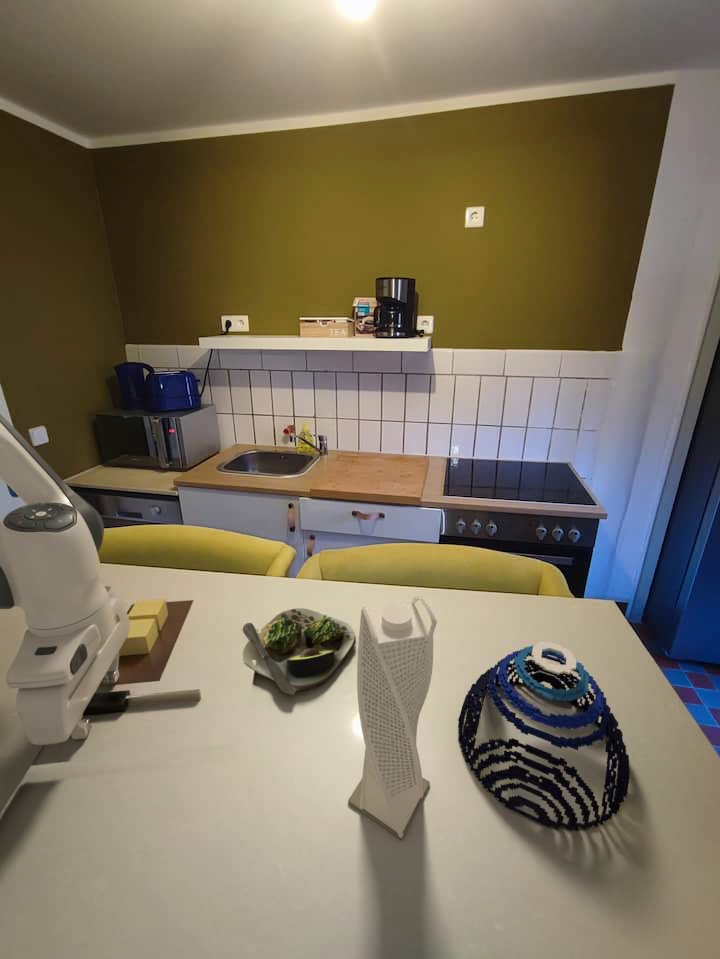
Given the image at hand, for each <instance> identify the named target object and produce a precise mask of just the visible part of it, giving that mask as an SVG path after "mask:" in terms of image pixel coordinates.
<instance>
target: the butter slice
mask: <svg viewBox="0 0 720 959" xmlns="http://www.w3.org/2000/svg"><path fill="white" fill-rule="evenodd" d="M166 602H167V601H166V598H157V599H143V600H136V601H135V603H134V604H135V605H134V606H133V608H132V609H131V611H130V613H129V614H128V617H129V620H141V619H154V618H155V621H156V626H157V630H158V631H161V629H162V627H163V624H164V622H165V620H166V618H167V616H168V610H167V605H166Z"/></svg>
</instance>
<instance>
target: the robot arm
mask: <svg viewBox="0 0 720 959" xmlns="http://www.w3.org/2000/svg"><path fill="white" fill-rule="evenodd" d="M54 470H55V469H53V468H52V467H51V466H50V465H49V464H48V463H47V462H46V461H45V460H44V458H43V457H42V456H41V455H40V454H39V453H38V452H37V451H36V450H35V448H34V447H33V446H32V445H31V444H30V443H29V442H28V441H27V440H26V439H25V437H24V436H22V435H21V433H20V432H19V431H18V430H17V429H16V428H15V427H14V426H13V425H12V424H11V423H10V422H9V421H8V420H7V419H6V418H5V417H4V416H3V415H2V414H1V413H0V478H1V480H2V481H3V482H4V483H5V484H6V485H7V486H8V487H9V488H10V489H11V490H12V491H13V492H14V493H15V494H16V495H17V496H18V497H19V498H20V500H22V502H24V503H25V504H26V505H23V506H21V507H20V506H19V507H17V508H15V509H13V510H11V511H10V512H8V513H7V514H5V515H4V516H3V517H2V519H1V520H0V610H11V609H12V608H20V609H21V610H22V611H23V612H24V618H25V623H26V624H25V625H26V627H27V629H26V631H25V632H24V634H23V637H22V641H21V644H20V646H19V649H18V651H17V653H16V655H15V657H14V659H13V661H12V662H11V664H10V666H9V668H8V670H7V672H6V673H5V674H6V675H5V682H6V684H7V686H8V687H9V689H17V692H16V698H15V705H16V706H15V707H16V711H17V714H18V717H19V721H20V724H21V726H22V729H23V732H24V734H25V736H26V739H27V740H28V741H29V743H30V744H32V745H35V746H45V745H52V744H53V745H54V744H55V745H56V744H59V743H60V744H61V743H64V742H66V741H68V740H69V739H70V736H71V738H72V739H73V740H84V739H86V738H88V735H89V733H90V731H91V729H92V727H93V726H92V724H91V720H90V718H84V719H83V717H84V716H83V712H84V710H85V709H86V707H87V705H88V704H89V702H90V700H91V698H92V697H93V695H94V693H97V692H96V691H97V690H98V688H99V687H100V686H99V685H100V683H101V681H102V680H103V684H104V685H108V686H115V685H114V684H115V683H116V681H117V679H118V678H119V671H118V662H119V650H120V649H121V647H122V645H123V643H124V642H125V640H126V638H127V637H128V635H129V633H130V621H129V617H128V614H127V612H128V611H127V609H126V607H125V604H124V602H123V600H122V599H121V598H120V597H117V595H116V591H115V588H114V587H112V586H107V585H104V584H103V582H102V578H101V570H102V567H101V566H102V565H101V562H100V557H99V552H100V550H101V549H102V548H101V547H102V545H103V541H104V536H105V524H104V521H103V518H102V516H101V514H100V513H99V512H98V511H97V509H96V508H95V507H94V506H92V504H91V503H89V502H88V501H87V500H86V499H84V498H83V497H81V495H79V494H78V493H77V492H76V491H74V490H73V489H72V488H71V487H70V486H69V485H68V484H67V483H66V482H65V481H64V480H63V479H62V478H61V477H60V475H58V474H57V473H56V472H55V471H54Z"/></svg>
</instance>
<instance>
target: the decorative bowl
mask: <svg viewBox="0 0 720 959" xmlns="http://www.w3.org/2000/svg"><path fill="white" fill-rule="evenodd" d="M528 657H531V658H533V659H527V658H528ZM549 661H552V662H556V663H559V664H554V663H551V662H549ZM511 662H512V663H511ZM509 668H510V669H509ZM572 672H574V673H577V675H578V676H575V675H574V674H573V673H572ZM510 676H511V678H510ZM578 677H580V678H578ZM514 678H515V679H514ZM520 680H521V681H522V682H521V681H520ZM543 682H544V683H546V684H549V685H550V686H551V688H550V687H547V686H545V684H543ZM589 685H590V689H591V690H592V691H591V690H590V689H589ZM514 686H525V687H528V688H530V690H532V691H534V692H535V694H538V695H541V696H542V698H545V699H547V700H551V701H553V700H556V701H557V702H558V701H559V702H561V701H563V702H567V701H568V703H570V705H573V706H575V707H576V708H578V709H581V710H582V712H581V711H579V712H577V713H576V714H575V713H574V714H572V715H568V714H565V713H563V714H560V713H558V715H557V714H555V713H552V712H550V713H549V715H547V714H544V713H543V711H541V709H540V708H538V707H535V706H534V704H532V703H529V702H527V700H526V699H524V698H521V697H520V694H519V693H518V691H516V690H514ZM498 688H500V690H501V691H502V693H504V695H503V696H504V697H505V698H506V700H508V701H510V702H509V705H512V706H514V708H515V709H518V711H519V712H521V713H523V715H524V716H526V717H530V720H532V721H535V722H537V723H539V724H543V725H546V726H548V727H551V728H554V729H557V728H559V729H561V730H562V729H563V728H564V729H567V730H569V731H571V729H572V730H575V731H576V730H579V729H581V728H582V727H583V728H584V729H585V728H586V729H587V728H588V726H590V725H593V724H595V725H596V726H597V728H598V729H595V730H593V731H592V733H590V734H587V735H584V736H581V737H580V736H578V735H577V736H574V737H573V738H572V737H570V736H568V738H567V737H564V736H562V735H560V737H559V736H557V735H554V734H551V733H549V732H546V731H544V730H541V729H538V728H535V727H533V726H530V725H528V724H525V722H524V721H523V719H522V718H519V717H517V713H516V712H513V711H511V710H510V708H508V705H506V703H505V702H504V701H503V697H502V696H501V695H499V692H500V691H499V690H498ZM488 690H489V692H488ZM487 692H488V695H490V696H489V697H490V699H491V701H492V704H493V705H494V708H496V710H497V711H498V713H500V716H502V717H504V719H506V721H507V722H509V723H510V724H513V726H514V727H515V729H516V730H518V731H519V732H520V733H521V734H523V735H526V736H529V735H531V736H534V737H536V738H538V739H541V740H544V741H546V742H549V743H550V745H552V746H555V747H557V748H559V749H562V748H565V749H568V748H570V749H573V750H576V751H579V748H582V747H585V746H587V747H590V746H593V743H596V742H597V743H598V742H599V741H600V742H604V740H605V739H604V735H605V736H606V737H607V738H608V739H607V740H605V747H604V751H605V753H607V757H606V769H605V778H604V784H603V792H602V798H601V807H603V809H602V811H601V814H599V813H600V804H598V800H596V795H594V791H592V788H590V786H589V785H588V784H587V783H586V782H585V780H584V779H583V777H581V776H580V774H579V773H578V769H576V767H575V766H574V765H571V766H568V761H566V759H565V758H563V757H561V756H560V757H559V758H558V757H555V756H553V754H552V753H550V752H548V751H545V750H543V749H541V748H538V747H535V746H532V745H531V744H528V743H526V744H524V743H520V740H518V739H515V738H513V737H511V738H508V741H507V740H504V739H502V738H501V737H499V738H496V739H494V738H491V739H490V738H489V739H488V741H485V742H484V741H483V742H481V743H480V744H478V746H475V745H476V741H477V737H476V736H477V735H478V730H479V725H480V720H481V716H482V711H483V706H484V702H485V699H486V694H487ZM482 702H483V703H482ZM583 702H584V703H583ZM590 702H591V703H590ZM600 718H601V719H600ZM599 719H600V721H599ZM457 721H458V724H457V728H458V732H457V733H458V738H457V741H458V742H459V744H460V749H461V751H460V752H461V753H462V755H463V756H464V759H465V763H467V764H469V765H468V767H470V769H469V771H471V772H473V773H474V774H473V775H475V778H477V781H478V782H480V783H481V785H482V788H484V789H486V792H487V793H490V794H491V795H493V798H496V799H497V802H499V803H500V804H503V805H504V808H507V809H508V810H511V811H513V812H514V813H517V814H519V815H521V816H522V817H523V816H524V817H526V818H527V819H530V820H532V821H534V822H536V823H538V824H541V825H542V826H545V827H547V828H548V829H551V828H554V829H556V830H559V829H562V828H564V829H567V830H569V831H570V832H573V830H575V831H577V832H579V828H580V829H583V830H585V831H587V829H588V830H589V829H591V828H593V827H594V828H598V827H599V825H601V826H604V822H607V821H610V820H612V817H613V815H615V816H617V815H618V814H617V813H618V812H620V809H621V804H622V803H625V798H627V796H628V790H629V784H630V774H631V772H630V771H631V769H630V757H629V755H628V754H627V746H626V745H625V742H624V740H623V731H622V729H620V728H618V727H619V721H618V720H617V719H616V717H615V715H614V713H613V712H611V707H610V706H609V704H607V697H606V696H605V692H604V691H602V690H601V688H600V686H599V684H597V681H596V680H595V679H594V676H592V675H591V674H590V673H589V672H588V671H587V670H586V669H585V665H583V664H582V663H581V662H578V659H577V658H575V655H574V654H573V651H571V650H570V649H569V648H566V647H564V646H563V645H560V644H558V643H554V642H551V641H548V642H546V641H544V640H543V641H542V640H541V641H538V642H535V645H529V646H524V647H523V648H522V649H519V650H514V651H512V653H509V654H507V655H505V657H503V658H501V659H500V660H498V661H497V663H496V664H495V663H494V666H493V667H492V666H491V667H490V668H489V669H487V670H486V671H485V672H484V673H481V674H480V676H479V677H478V678H477V679H476V681H475V683H472V684H471V687H470V689H469V690H468V692H467V694H466V695H465V697H464V700H463V703H462V706H461V710H460V714H459V716H458V719H457ZM496 743H497V744H496ZM503 747H504V750H503V754H498V753H490V752H492V751H493V752H494V751H498V750H500V749H501V748H503ZM513 747H514V748H517V749H518V748H521V749H524V752H525V753H528V754H531V755H533V756H535V757H538V758H540V759H543V760H545V761H547V763H548V764H551V765H552V767H550V766H548V765H545V764H543V763H540V762H538V761H535V760H532V759H531V758H528V757H526V756H523V753H521V752H519V751H517V750H514V751H513ZM487 753H488V756H487V758H485V759H483V758H481V759H480V756H484V755H487ZM514 757H515V758H514ZM479 760H480V761H479ZM510 762H512V763H515V764H511V765H509V766H508V768H506V767H505V768H503V769H500V770H499V769H498V770H495V771H494V769H493V770H492V769H490V767H492V766H493V765H495V764H496V765H500V763H502V764H505V763H506V764H507V763H510ZM519 762H521V763H522V765H523V766H526V767H528V768H531V769H532V770H536V771H538V772H541V773H543V774H544V775H547V776H550V775H552V776H553V779H550V778H548V777H546V776H543V775H539V776H538V775H535V774H533V773H531V772H530V770H529V769H527V768H524V767H521V765H520V766H519V765H517V764H518V763H519ZM476 764H477V766H476V767H474V765H476ZM559 766H561V767H563V771H561V769H560V768H559ZM487 769H490V771H489V773H487V774H486V773H485V774H484V775H483V776H482V772H484V771H485V770H487ZM564 772H565V774H566V775H568V776H570V778H571V779H575V782H576V783H577V787H576V786H573V785H572V786H571V787H570V785H571V781H570V780H568V779H566V777H565V776H564ZM507 780H510V781H513V780H514V781H515V780H518V781H520V782H519V783H518V782H516V783H515V782H508V783H503V784H500V786H496V785H497V782H499V783H500V782H502V781H507ZM554 781H555V782H554ZM528 784H530V785H533V786H535V787H537V788H534V787H531V786H529V785H528ZM559 784H560V786H561V787H563V788H565V791H567V793H568V794H570V797H573V798H574V803H575V804H576V805H577V806H579V810H581V811H580V816H582V822H583V823H581V822H578V820H579V818H578V817H576V816H577V813H576V812H575V808H573V807H572V805H571V804H570V802H568V800H567V799H566V797H565V796H563V794H564V790H563V789H561V787H560V786H559ZM494 786H495V787H494ZM578 787H579V788H581V789H582V791H584V796H586V798H587V799H588V801H589V802H590V807H591V808H592V812H593V818H595V819H592V820H590V816H591V810H590V809H589V805H587V803H586V802H585V798H584V797H583V796H582V794H580V792H578ZM493 788H494V789H493ZM519 789H520V790H522V791H525V792H527V793H530V794H532V795H534V796H536V797H538V798H540V799H541V801H543V802H546V805H548V807H549V808H551V809H553V813H554V817H555V818H556V820H553V819H551V818H550V816H549V815H548V814H549V812H548V811H546V808H544V807H542V806H541V804H539V803H536V802H534V801H532V800H530V799H528V798H525V797H523V796H521V795H519V794H517V795H511V796H508V800H507V798H506V797H503V792H504V793H505V792H508V790H511V791H514V790H519ZM544 792H545V793H547V794H550V797H552V799H551V798H549V797H548V796H547V795H545V794H544ZM553 800H555V801H557V803H558V804H560V807H562V809H563V810H564V813H563V812H562V811H561V809H560V808H558V805H556V803H555V802H554V801H553ZM521 807H523V808H524V807H527V808H528V809H531V810H532V811H533V812H534V813H535V815H536V816H537V817H536V816H534V815H532V814H530V813H528V812H526V811H523V810H522V809H519V808H521ZM563 814H564V815H563ZM565 816H566V819H568V821H567V822H566V823H565V822H564V820H565Z"/></svg>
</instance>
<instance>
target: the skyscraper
mask: <svg viewBox="0 0 720 959" xmlns="http://www.w3.org/2000/svg"><path fill="white" fill-rule="evenodd" d="M418 601H420V603H421V604H422V605H423V606H424V608H425V610H426V613H427V614H428V616H429V618H430V621H431V624H430V627H429V629H428V627H427V626H426V623H425V622H424V620H423V618H422V616H421V614H420V612H419V610H418V609H417V608H418V607H416V603H417V602H418ZM360 613H361V614H360V622H359V623H360V624H359V632H358V633H359V634H358V646H357V663H356V669H357V670H356V689H357V704H358V705H357V706H358V714H359V720H360V721H359V722H360V726H361V730H362V731H361V732H362V736H363V741H364V746H365V749H364V757H363V766H362V767H363V768H362V776H361V779H360V781H359V783H358V784H357V786H356V787H355V789H354V790H353V792H352V793H351V795H350V796H349V798H348V800H347V803H348V804H349V805H351V806H352V807H354V808H355V809H357V810H358V811H359V812H360V813H362V814H363V815H365V816H366V817H368V818H369V819H370V820H372V821H374V822H375V823H376V824H378V825H379V826H381V827H382V828H384V829H385V830H387V832H390V833H391V834H392V835H393V836H395V837H397V838H398V839H399V840H401V841H403V839H404V838H405V835H406V833H407V831H408V829H409V827H410V825H411V823H412V821H413V819H414V817H415V815H416V813H417V811H418V809H419V807H420V805H421V803H422V801H423V799H424V796H425V794H426V793H427V790H428V789H429V787H430V783H431V782H430V781H429V780H427V779H426V778H424V777H423V773H422V767H421V761H420V755H419V751H418V746H417V735H418V734H417V733H418V724H419V718H420V714H421V712H422V709H423V707H424V704H425V702H426V699H427V695H428V693H429V689H430V686H431V680H432V675H433V667H434V666H433V665H434V634H435V629H436V627H437V624H438V621H437V617H436V615H435V613H434V611H433V609H432V607H431V606H430V605H429V603H428V601H426V599H425V598H424V597H423V596H421V595H419V594H416V595H415V596H414V598H413V599H412V601H411V602H407V603H402V604H401V603H400V604H390V605H387V606H381V607H374V608H367V607H365V606H363V607H362V608H361V611H360Z"/></svg>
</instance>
